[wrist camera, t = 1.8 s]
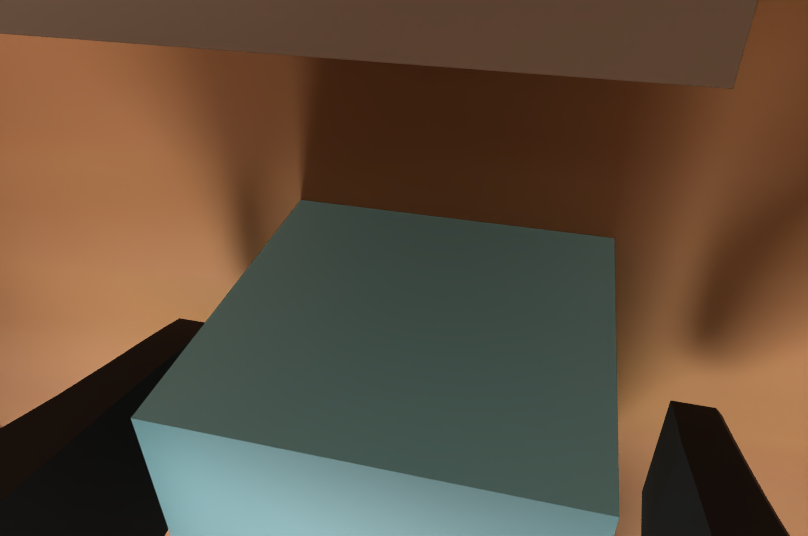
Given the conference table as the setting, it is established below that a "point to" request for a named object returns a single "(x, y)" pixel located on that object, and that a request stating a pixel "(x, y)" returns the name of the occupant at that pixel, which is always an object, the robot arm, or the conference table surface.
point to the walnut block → (429, 32)
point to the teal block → (396, 385)
